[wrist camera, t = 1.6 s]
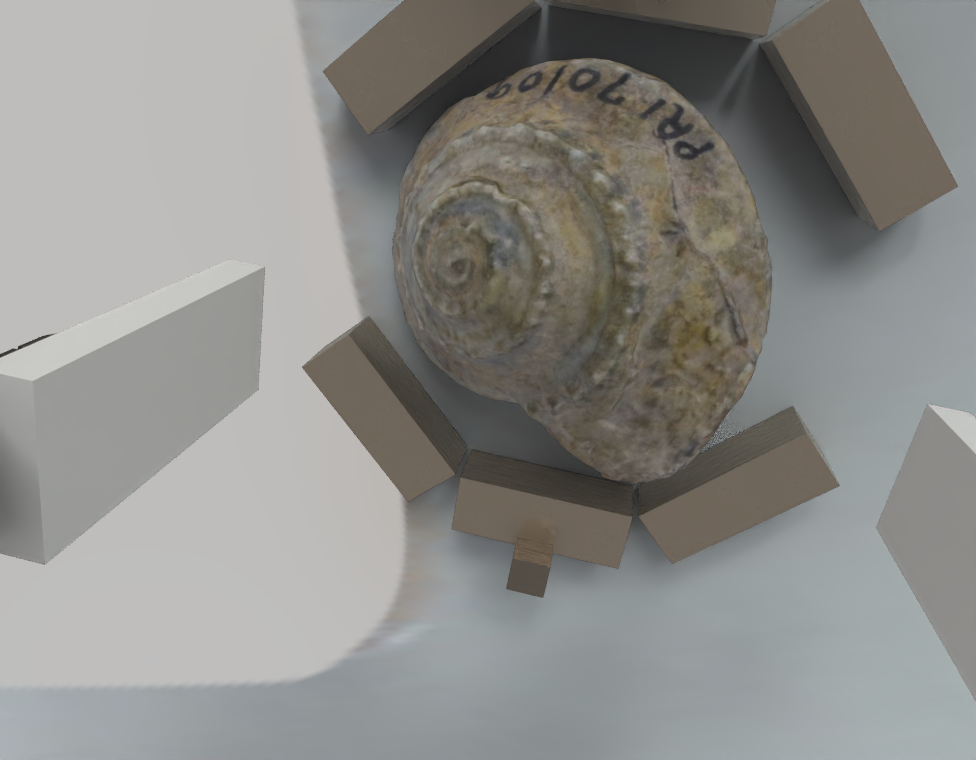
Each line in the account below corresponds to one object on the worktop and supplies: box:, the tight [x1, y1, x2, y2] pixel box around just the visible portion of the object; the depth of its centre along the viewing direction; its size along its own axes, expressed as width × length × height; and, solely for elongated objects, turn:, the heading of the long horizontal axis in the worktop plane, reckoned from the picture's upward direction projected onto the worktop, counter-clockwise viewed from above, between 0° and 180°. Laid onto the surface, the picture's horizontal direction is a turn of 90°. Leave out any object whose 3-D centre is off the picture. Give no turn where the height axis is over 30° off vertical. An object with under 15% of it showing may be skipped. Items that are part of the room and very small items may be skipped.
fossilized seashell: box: [392, 58, 772, 484], centre depth 22 cm, size 11×11×7 cm
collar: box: [302, 0, 958, 598], centre depth 22 cm, size 20×17×3 cm
